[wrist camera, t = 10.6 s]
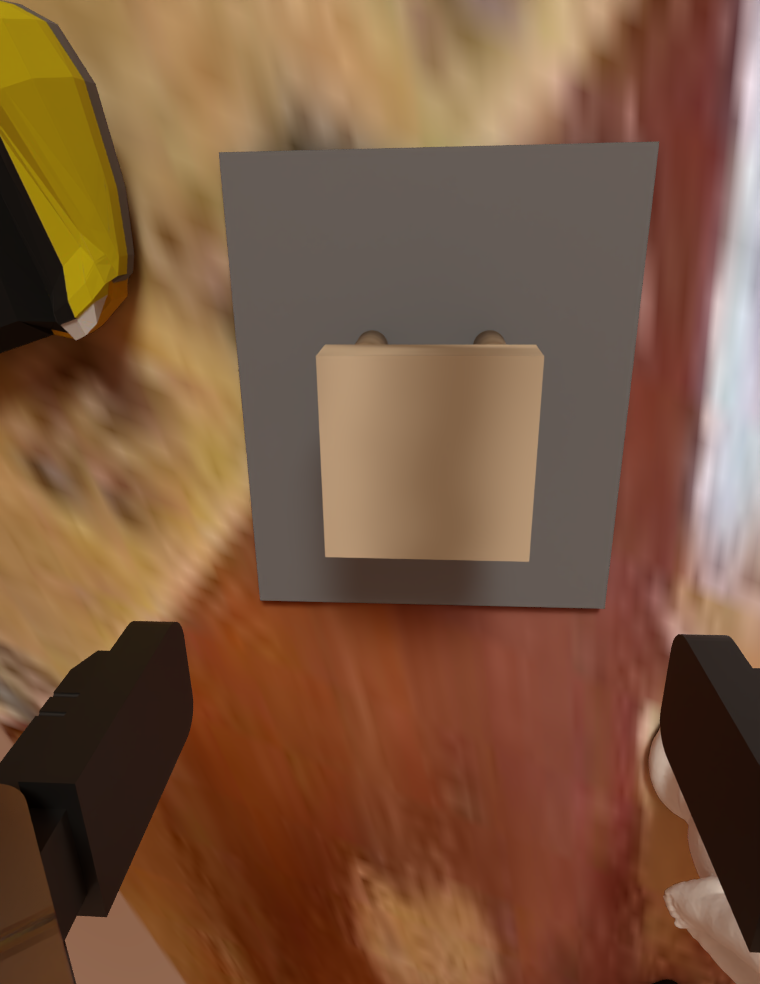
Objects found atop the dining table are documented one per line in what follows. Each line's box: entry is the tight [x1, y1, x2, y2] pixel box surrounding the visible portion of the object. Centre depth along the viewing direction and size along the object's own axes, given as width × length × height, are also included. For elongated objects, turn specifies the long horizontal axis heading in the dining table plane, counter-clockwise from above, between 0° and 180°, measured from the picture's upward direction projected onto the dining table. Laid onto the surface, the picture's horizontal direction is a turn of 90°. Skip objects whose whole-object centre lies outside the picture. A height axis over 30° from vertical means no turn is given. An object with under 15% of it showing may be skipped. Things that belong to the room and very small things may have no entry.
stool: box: [316, 330, 544, 562], centre depth 24 cm, size 6×6×7 cm
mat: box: [219, 142, 659, 609], centre depth 28 cm, size 18×15×1 cm
